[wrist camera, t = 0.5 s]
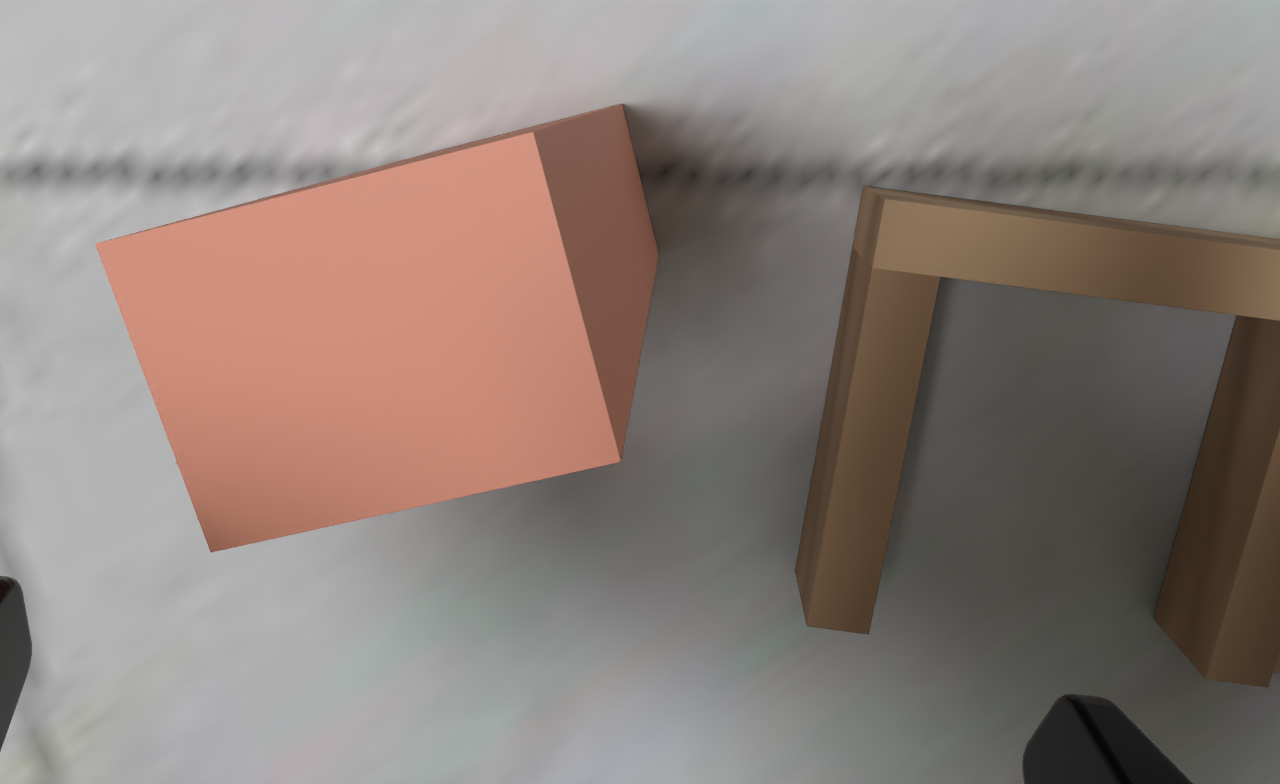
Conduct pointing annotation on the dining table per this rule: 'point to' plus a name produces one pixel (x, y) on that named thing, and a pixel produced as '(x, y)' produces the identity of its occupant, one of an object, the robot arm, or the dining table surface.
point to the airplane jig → (1078, 264)
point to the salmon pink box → (398, 329)
